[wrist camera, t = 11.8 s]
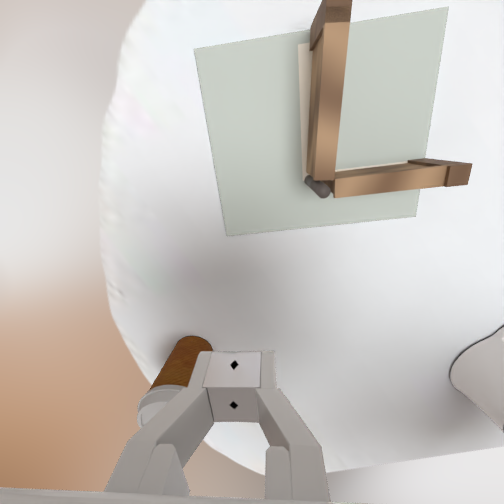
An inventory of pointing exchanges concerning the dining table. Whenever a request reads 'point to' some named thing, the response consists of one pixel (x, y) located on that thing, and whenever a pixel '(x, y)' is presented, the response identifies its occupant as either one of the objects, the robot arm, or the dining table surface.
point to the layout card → (297, 120)
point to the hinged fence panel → (327, 85)
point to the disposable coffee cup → (171, 377)
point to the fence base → (392, 178)
